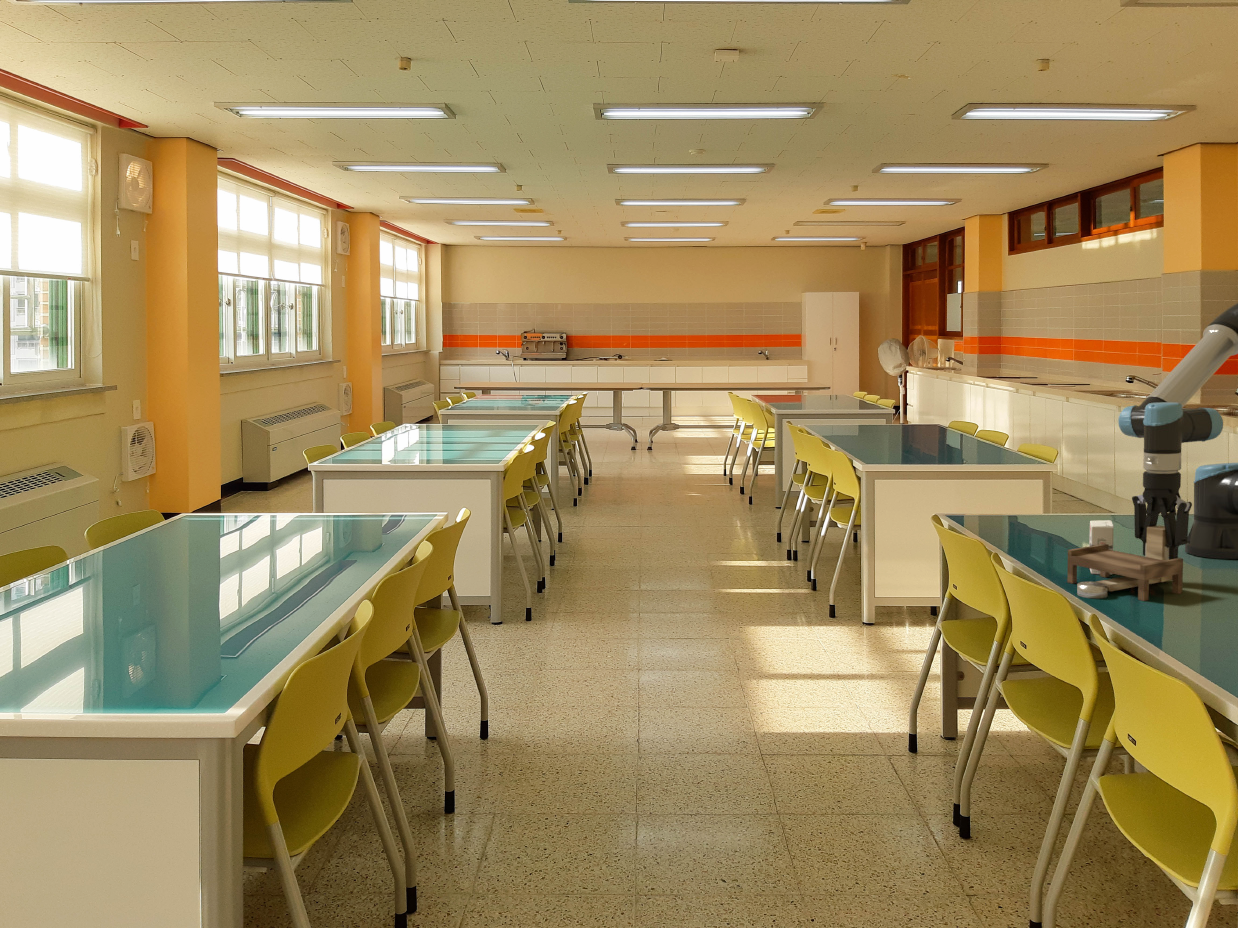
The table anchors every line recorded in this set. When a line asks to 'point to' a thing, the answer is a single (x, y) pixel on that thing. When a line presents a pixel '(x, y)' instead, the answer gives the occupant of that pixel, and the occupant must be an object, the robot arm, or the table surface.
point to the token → (1092, 590)
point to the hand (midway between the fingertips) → (1159, 572)
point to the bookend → (1153, 550)
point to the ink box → (1101, 536)
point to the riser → (1125, 567)
